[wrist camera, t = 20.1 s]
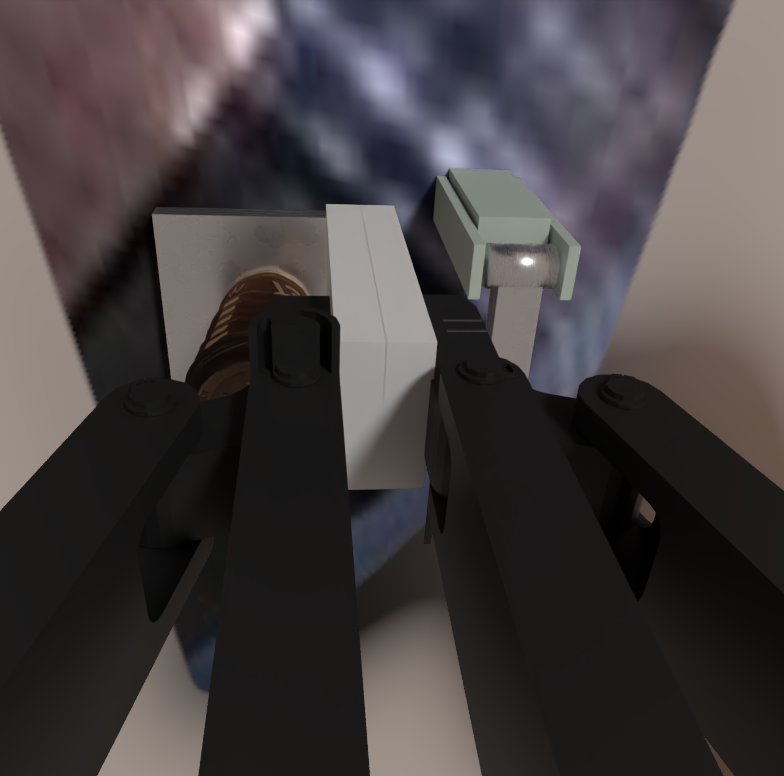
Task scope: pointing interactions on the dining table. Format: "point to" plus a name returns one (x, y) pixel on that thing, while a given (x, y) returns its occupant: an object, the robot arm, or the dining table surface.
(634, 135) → the dining table surface
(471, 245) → the press column
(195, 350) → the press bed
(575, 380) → the dining table surface
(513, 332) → the lever
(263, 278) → the coffee cup
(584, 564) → the robot arm
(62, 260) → the dining table surface
